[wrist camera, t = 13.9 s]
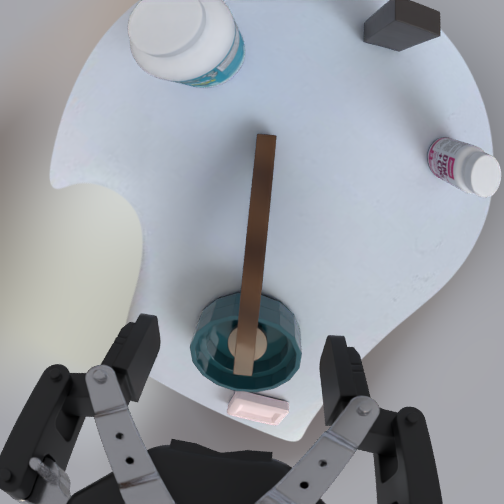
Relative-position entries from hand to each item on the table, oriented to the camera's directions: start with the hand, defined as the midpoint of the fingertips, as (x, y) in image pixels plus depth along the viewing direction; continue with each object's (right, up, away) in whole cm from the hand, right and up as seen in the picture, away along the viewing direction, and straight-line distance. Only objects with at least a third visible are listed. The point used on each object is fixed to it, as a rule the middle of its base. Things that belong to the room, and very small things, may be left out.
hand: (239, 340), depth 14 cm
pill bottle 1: (-4, +23, +12) cm, 26 cm away
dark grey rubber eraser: (+14, +26, +9) cm, 30 cm away
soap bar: (+2, -21, +33) cm, 39 cm away
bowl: (0, -6, +26) cm, 26 cm away
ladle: (+1, +3, +24) cm, 24 cm away
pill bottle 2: (+22, +14, +14) cm, 29 cm away
